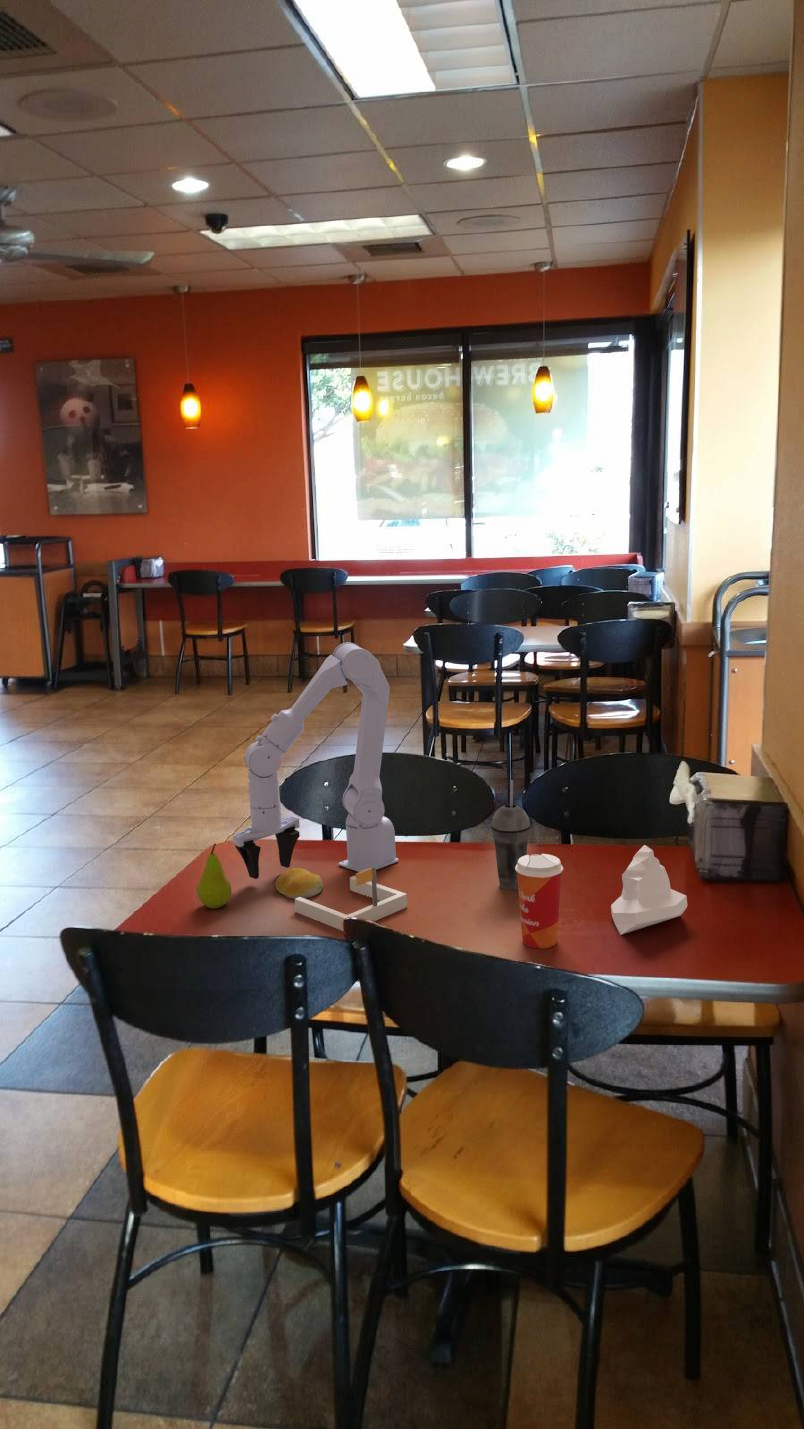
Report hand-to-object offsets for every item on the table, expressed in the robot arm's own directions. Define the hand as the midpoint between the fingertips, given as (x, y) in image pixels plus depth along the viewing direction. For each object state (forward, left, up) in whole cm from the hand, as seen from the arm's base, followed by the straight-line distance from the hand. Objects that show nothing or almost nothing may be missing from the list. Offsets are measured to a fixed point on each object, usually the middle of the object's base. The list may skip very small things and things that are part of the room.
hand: (269, 871), depth 206 cm
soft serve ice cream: (-28, +66, -2) cm, 72 cm away
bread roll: (0, +9, -2) cm, 9 cm away
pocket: (0, +23, -1) cm, 23 cm away
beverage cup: (-27, +38, -2) cm, 47 cm away
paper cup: (-11, +57, -2) cm, 58 cm away
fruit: (+15, +3, -2) cm, 15 cm away
